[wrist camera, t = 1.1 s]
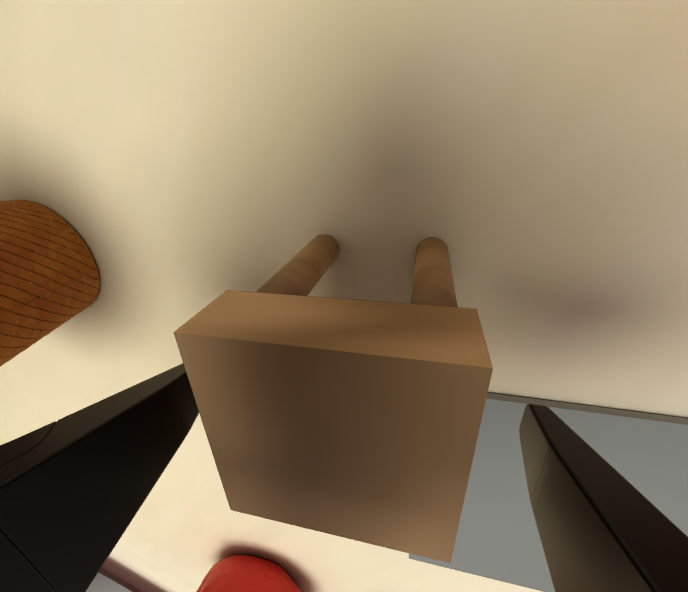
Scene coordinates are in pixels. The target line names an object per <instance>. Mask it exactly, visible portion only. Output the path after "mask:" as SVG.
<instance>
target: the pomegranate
mask: <svg viewBox="0 0 688 592" xmlns="http://www.w3.org/2000/svg"><path fill="white" fill-rule="evenodd" d="M197 592H300V590H299V588H298V586H297V585H296V584H295V583H294V582H293V580H292V579H291V578H290V577H289V576H288V574H287V573H286V572H285V571H284V570H283V569H282V568H281V567H280V566H278V565H277V564H275V563H273V562H271V561H268V560H264V559H260V558H257V557H254V556H247V555H233V556H229V557H227V558H224V559H222V560H221V561H219V562H218V563H216V564H215V565H214V566H213V567H212V568H211V569H210V570H209V572H208V574H207V575H206V576H205V578H204V580H203V581H202V583H201V585H200V587H199V589H198V590H197Z"/></svg>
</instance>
